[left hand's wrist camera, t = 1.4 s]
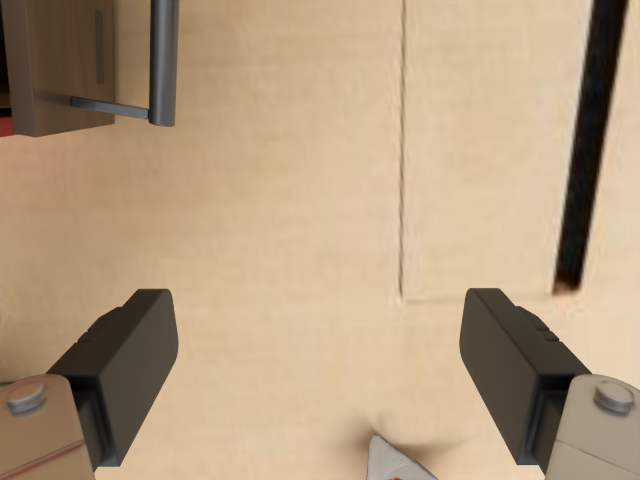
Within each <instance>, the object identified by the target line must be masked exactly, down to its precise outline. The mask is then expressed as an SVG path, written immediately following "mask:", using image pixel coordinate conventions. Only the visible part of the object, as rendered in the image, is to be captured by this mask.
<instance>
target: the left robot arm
mask: <svg viewBox="0 0 640 480" xmlns="http://www.w3.org/2000/svg"><path fill="white" fill-rule="evenodd" d="M459 344H460V353H461V357H462V360H463V363H464V364H465V366H466V368H467V370H468V372H469V374H470V376H471V378H472V380H473V382H474V384H475V386H476V387H477V389H478V391H479V393H480V395H481V397H482V399H483V401H484V403H485V405H486V407H487V408H488V410H489V412H490V414H491V416H492V418H493V420H494V422H495V424H496V426H497V428H498V430H499V431H500V433H501V435H502V437H503V439H504V441H505V443H506V445H507V447H508V449H509V451H510V452H511V454H512V456H513V458H514V460H515V462H516V464H517V465H539V466H540V468H541V470H542V472H543V473H544V475H545V480H640V390H638V389H637V388H635V387H633V386H631V385H630V384H627V383H625V382H623V381H620V380H618V379H615V378H611V377H608V376H603V375H597V374H592V373H591V372H590V371H589V370H588V369H587V368H586V367H585V366H584V365H583V363H582V362H581V361H580V360H579V359H578V358H577V357H576V356H575V355H574V354H573V353H572V352H571V351H570V350H569V349H568V348H567V347H566V346H565V345H564V344H563V342H559V338H558V337H557V336H556V335H555V334H554V333H553V332H552V331H550V330H549V328H548V327H547V326H546V325H545V324H544V323H543V322H542V320H541V319H540V318H539V317H538V316H536V315H534V314H532V313H531V312H529V311H527V310H526V309H524V308H522V307H520V306H515V305H514V304H513V303H512V302H511V301H510V300H509V298H508V297H507V296H506V295H505V294H504V293H503V292H502V291H501V290H500V289H499V288H470V289H468V291H467V293H466V297H465V304H464V311H463V318H462V325H461V332H460V341H459ZM177 353H178V334H177V327H176V320H175V313H174V306H173V299H172V294H171V292H170V290H169V289H138V290H137V291H136V292H135V293H134V294H133V295H132V296H131V297H130V299H129V300H128V301H127V302H126V303H125V304H124V305H123V306H122V307H116V308H115V309H113V310H111V311H110V312H108V313H106V314H104V315H103V316H101V317H99V318H98V319H97V320H96V321H95V323H94V324H93V325H92V326H91V327H90V328H89V329H88V332H85V333H84V334H83V335H82V336H81V337H80V338H79V339H78V342H77V343H74V344H73V345H72V346H71V347H70V349H69V350H68V351H67V352H66V353H65V354H64V355H63V356H62V357H61V358H60V359H59V360H58V361H57V362H56V363H55V364H54V365H53V366H52V367H51V368H50V369H49V370H48V371H47V372H46V373H45V374H43V375H37V376H32V377H29V378H25V379H22V380H20V381H17V382H15V383H13V384H0V480H95V476H94V472H95V471H96V469H97V467H120V465H121V463H122V461H123V459H124V458H125V456H126V454H127V452H128V450H129V448H130V446H131V444H132V442H133V441H134V439H135V437H136V435H137V433H138V431H139V429H140V427H141V425H142V423H143V422H144V420H145V418H146V416H147V414H148V412H149V410H150V408H151V406H152V405H153V403H154V401H155V399H156V397H157V395H158V393H159V391H160V389H161V388H162V386H163V384H164V382H165V380H166V378H167V376H168V374H169V372H170V371H171V369H172V367H173V365H174V363H175V361H176V357H177Z"/></svg>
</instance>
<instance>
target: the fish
mask: <svg viewBox="0 0 640 480" xmlns="http://www.w3.org/2000/svg"><path fill="white" fill-rule="evenodd" d="M366 480H438V479H437V478H436V477H435V476H434V475H432V474H431V473H430V472H429V471H428V470H427V469H426V468H424V467H423V466H422V465H421V464H420V463H418V462H417V461H415V460H414V459H412V458H411V457H409V456H407V455H406V454H404V453H403V452H401V451H399V450H398V449H396V448H394V447H393V446H391V445H390V444H389V443H388V442H386V441H385V440H384V439H383V438H381V437H380V436H378V435H372V438H371V441H370V443H369V454H368V469H367V478H366Z"/></svg>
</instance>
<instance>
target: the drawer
mask: <svg viewBox="0 0 640 480" xmlns="http://www.w3.org/2000/svg"><path fill="white" fill-rule="evenodd" d="M178 21H179V0H151V19H150V85H149V109H148V108H142V107H136V106H130V105H124V104H118V103H114V47H113V0H0V108H9V107H11V111H12V121H13V131H14V134H18V135H24V136H31V137H41V136H47V135H52V134H58V133H64V132H70V131H76V130H81V129H87V128H93V127H99V126H104V125H110V124H114V123H115V122H114V114H118V115H124V116H130V117H136V118H142V119H149V123H150V124H153V125H157V126H165V127H173V126H175V103H176V76H177V49H178Z"/></svg>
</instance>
